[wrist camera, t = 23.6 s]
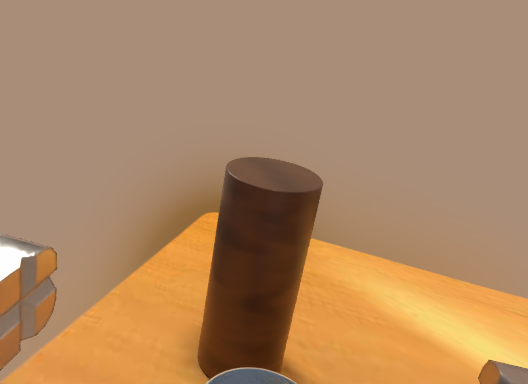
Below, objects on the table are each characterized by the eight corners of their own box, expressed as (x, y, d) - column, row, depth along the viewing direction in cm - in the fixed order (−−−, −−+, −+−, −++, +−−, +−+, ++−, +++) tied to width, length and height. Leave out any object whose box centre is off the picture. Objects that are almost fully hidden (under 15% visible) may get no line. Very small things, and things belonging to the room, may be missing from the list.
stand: (219, 400, 39) (256, 194, 32) (184, 341, 45) (210, 157, 38) (296, 377, 43) (343, 190, 36) (255, 325, 49) (289, 156, 42)
